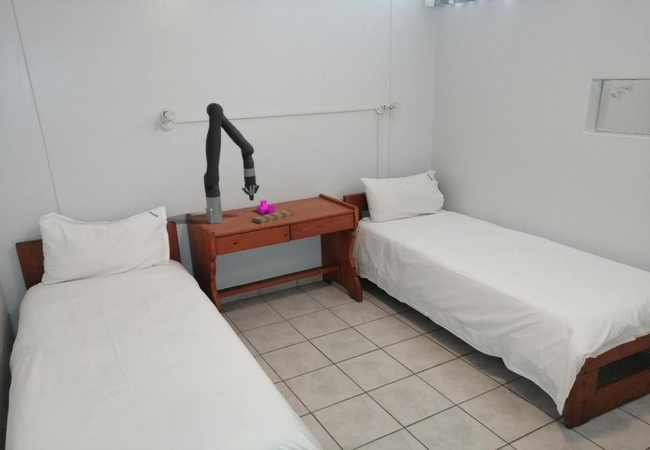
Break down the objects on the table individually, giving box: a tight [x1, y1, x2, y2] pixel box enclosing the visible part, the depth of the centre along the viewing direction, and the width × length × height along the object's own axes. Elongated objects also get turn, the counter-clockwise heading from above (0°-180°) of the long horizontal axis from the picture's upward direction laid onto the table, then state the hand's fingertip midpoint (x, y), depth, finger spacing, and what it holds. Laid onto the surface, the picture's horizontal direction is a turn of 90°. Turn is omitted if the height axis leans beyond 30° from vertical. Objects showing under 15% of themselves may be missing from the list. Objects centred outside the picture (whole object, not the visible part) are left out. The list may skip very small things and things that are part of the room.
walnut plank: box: [252, 209, 293, 225], centre depth 310 cm, size 26×9×2 cm, turn 131°
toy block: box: [256, 199, 276, 216], centre depth 321 cm, size 15×6×8 cm, turn 31°
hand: (251, 200), depth 311 cm, fingers closed
